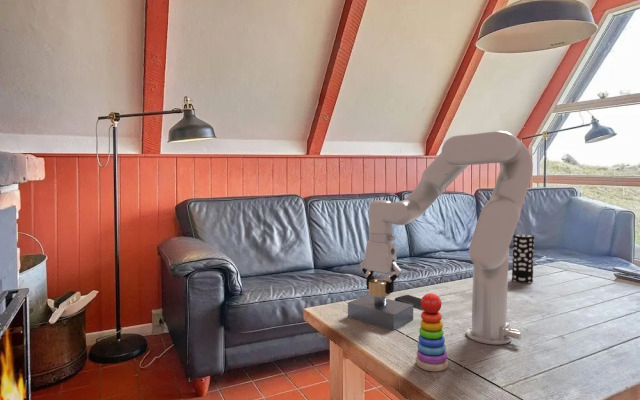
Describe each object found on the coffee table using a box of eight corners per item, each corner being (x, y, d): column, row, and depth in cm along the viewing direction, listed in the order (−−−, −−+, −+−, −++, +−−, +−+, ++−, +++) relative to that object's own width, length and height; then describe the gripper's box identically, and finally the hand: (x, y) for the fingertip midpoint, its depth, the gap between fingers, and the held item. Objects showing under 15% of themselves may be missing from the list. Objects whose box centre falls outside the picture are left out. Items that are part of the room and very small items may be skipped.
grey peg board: (413, 319, 143) (413, 284, 142) (393, 330, 134) (394, 292, 133) (368, 308, 155) (368, 275, 154) (347, 317, 146) (347, 282, 145)
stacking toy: (424, 355, 116) (425, 287, 114) (453, 364, 111) (454, 292, 109) (410, 366, 110) (411, 294, 108) (440, 376, 105) (441, 300, 103)
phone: (407, 294, 168) (439, 304, 157) (407, 297, 169) (439, 307, 157) (393, 298, 164) (425, 308, 152) (393, 301, 164) (425, 311, 152)
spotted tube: (507, 279, 193) (508, 234, 191) (522, 277, 195) (524, 233, 194) (521, 283, 185) (523, 237, 183) (537, 282, 187) (538, 236, 186)
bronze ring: (394, 293, 144) (394, 281, 144) (382, 297, 139) (382, 285, 139) (376, 289, 149) (376, 277, 148) (364, 293, 144) (364, 281, 143)
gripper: (409, 239, 139) (408, 293, 141) (365, 233, 151) (365, 283, 152) (397, 242, 134) (396, 298, 135) (352, 236, 145) (352, 288, 147)
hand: (379, 290), depth 144 cm, fingers closed on bronze ring, 7 cm apart
